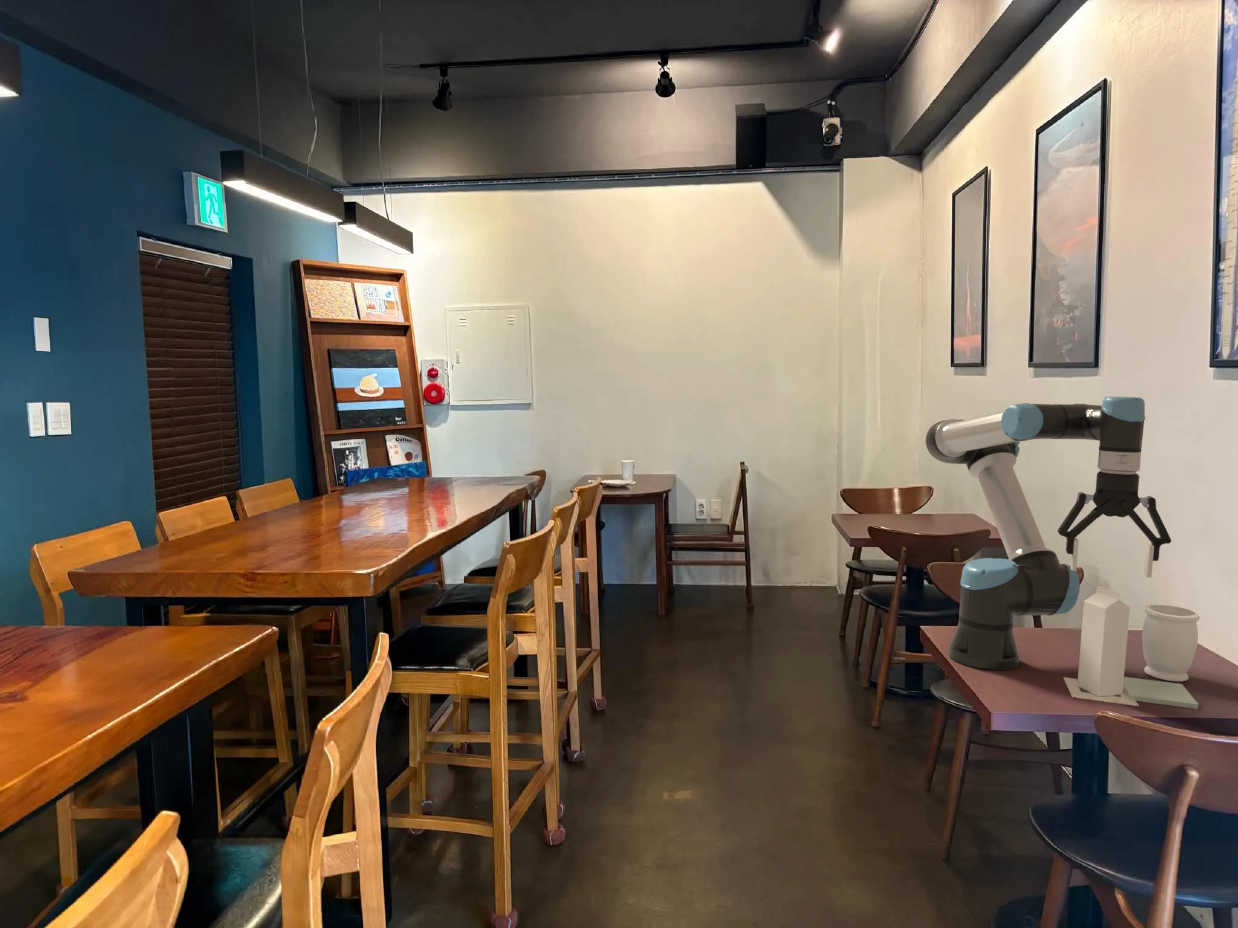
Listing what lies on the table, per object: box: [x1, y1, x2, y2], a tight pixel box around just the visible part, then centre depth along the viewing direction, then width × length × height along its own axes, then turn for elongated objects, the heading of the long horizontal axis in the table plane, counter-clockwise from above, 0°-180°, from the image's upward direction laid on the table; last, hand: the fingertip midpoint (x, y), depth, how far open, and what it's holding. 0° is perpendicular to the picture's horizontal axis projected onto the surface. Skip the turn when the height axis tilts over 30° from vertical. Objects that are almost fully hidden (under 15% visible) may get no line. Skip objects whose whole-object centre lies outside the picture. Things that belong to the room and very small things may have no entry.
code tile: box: [1063, 677, 1140, 707], centre depth 176 cm, size 12×12×1 cm
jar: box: [1141, 604, 1201, 683], centre depth 185 cm, size 11×10×15 cm
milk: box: [1077, 585, 1131, 697], centre depth 175 cm, size 6×6×22 cm
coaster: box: [1123, 676, 1199, 710], centre depth 175 cm, size 12×12×1 cm
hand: (1109, 572), depth 173 cm, fingers open, 13 cm apart
